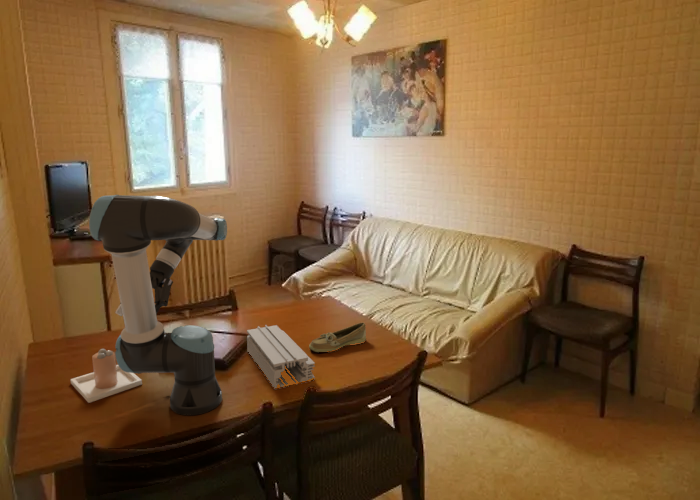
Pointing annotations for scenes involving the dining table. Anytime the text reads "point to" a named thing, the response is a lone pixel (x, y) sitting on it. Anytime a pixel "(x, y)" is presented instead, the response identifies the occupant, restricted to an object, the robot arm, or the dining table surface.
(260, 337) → the aluminum extrusion profile
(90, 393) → the tray
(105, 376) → the pebble cup
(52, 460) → the dining table surface
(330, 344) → the boat shoe
